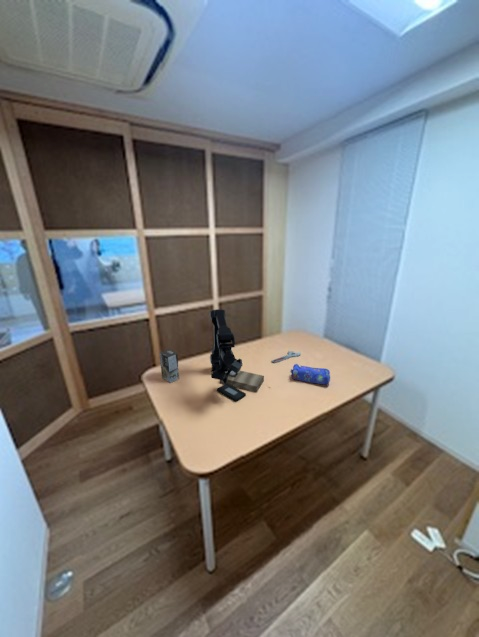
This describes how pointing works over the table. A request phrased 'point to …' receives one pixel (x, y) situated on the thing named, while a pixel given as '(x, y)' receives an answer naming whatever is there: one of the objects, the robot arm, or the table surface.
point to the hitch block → (245, 381)
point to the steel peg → (232, 374)
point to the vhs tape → (231, 392)
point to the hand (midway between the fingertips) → (225, 382)
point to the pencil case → (311, 374)
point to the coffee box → (169, 365)
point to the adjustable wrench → (287, 356)
